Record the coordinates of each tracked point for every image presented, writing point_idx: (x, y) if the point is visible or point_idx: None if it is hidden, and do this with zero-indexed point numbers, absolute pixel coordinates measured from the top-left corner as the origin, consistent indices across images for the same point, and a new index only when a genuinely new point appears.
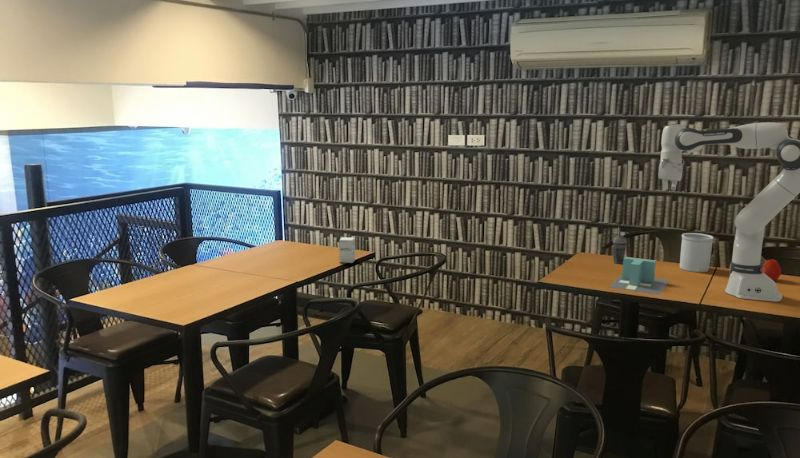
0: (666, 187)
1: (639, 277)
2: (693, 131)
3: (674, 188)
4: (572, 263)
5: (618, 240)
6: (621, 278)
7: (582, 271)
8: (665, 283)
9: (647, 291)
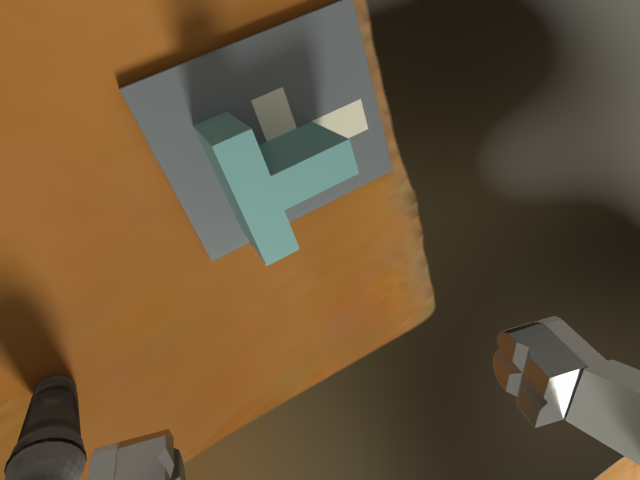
0: (573, 341)
1: (304, 135)
2: None
3: (162, 459)
4: (210, 438)
5: (76, 464)
6: None
7: (268, 354)
8: (189, 69)
9: (349, 53)
